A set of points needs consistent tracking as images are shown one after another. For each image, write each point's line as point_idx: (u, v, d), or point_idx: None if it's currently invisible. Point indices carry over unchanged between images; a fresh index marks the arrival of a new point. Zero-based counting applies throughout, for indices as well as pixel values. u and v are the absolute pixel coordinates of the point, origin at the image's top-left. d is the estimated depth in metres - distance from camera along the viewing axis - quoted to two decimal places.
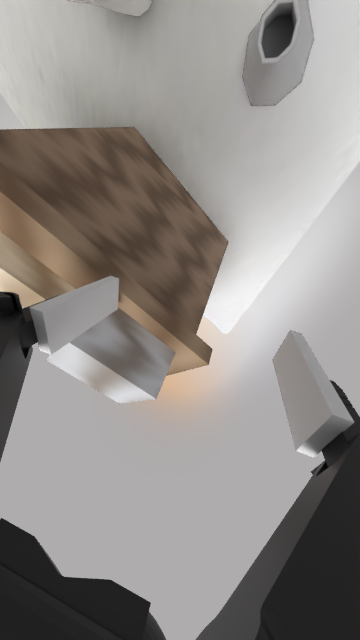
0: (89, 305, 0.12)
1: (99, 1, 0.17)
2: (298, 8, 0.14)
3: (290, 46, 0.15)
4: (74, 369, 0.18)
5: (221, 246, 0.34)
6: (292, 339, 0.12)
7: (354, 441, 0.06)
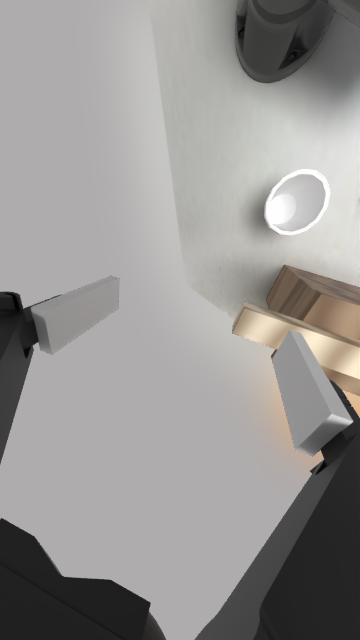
0: (90, 305, 0.12)
1: None
2: None
3: None
4: None
5: None
6: (291, 339, 0.12)
7: (353, 440, 0.06)
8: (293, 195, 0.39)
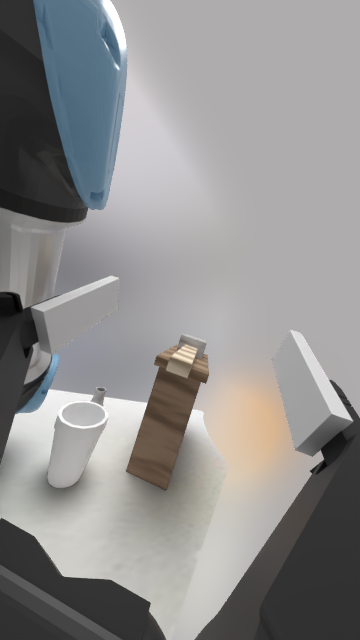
0: (90, 305, 0.12)
1: None
2: (97, 387, 0.56)
3: (103, 387, 0.57)
4: (198, 339, 0.58)
5: None
6: (291, 339, 0.12)
7: (353, 440, 0.06)
8: None
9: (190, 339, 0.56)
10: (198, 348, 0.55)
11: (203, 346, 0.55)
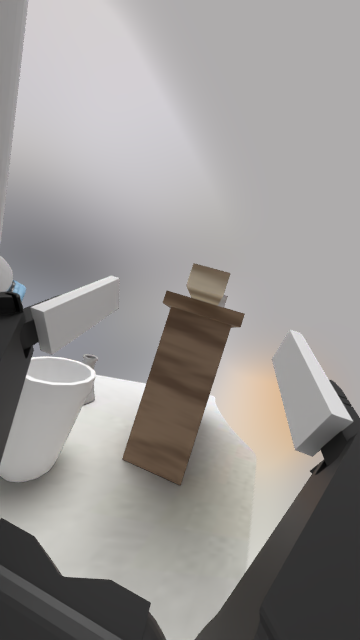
0: (90, 305, 0.12)
1: None
2: (86, 354, 0.43)
3: (93, 355, 0.44)
4: None
5: None
6: (291, 339, 0.12)
7: (353, 440, 0.06)
8: None
9: None
10: None
11: (224, 300, 0.43)
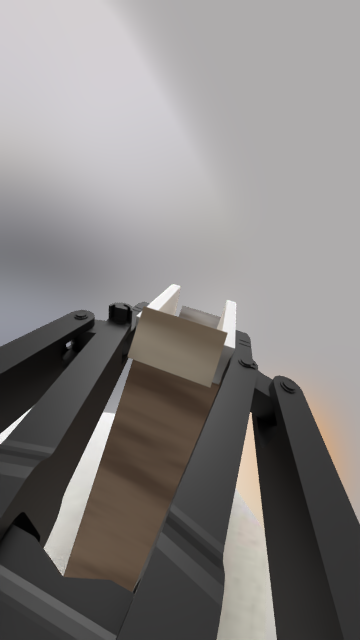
0: (165, 312, 0.13)
1: None
2: None
3: None
4: None
5: None
6: (225, 306, 0.14)
7: (230, 364, 0.08)
8: None
9: (198, 313, 0.32)
10: (211, 328, 0.32)
11: None
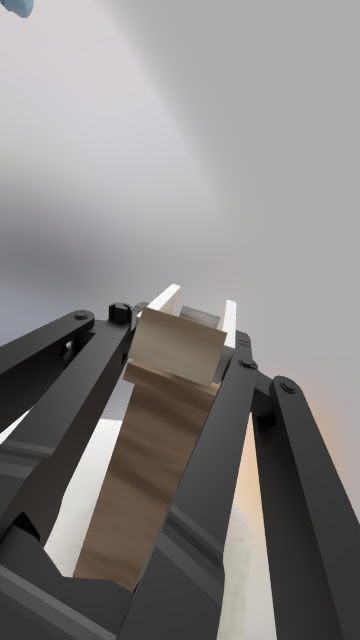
0: (165, 312, 0.13)
1: None
2: None
3: None
4: None
5: None
6: (225, 306, 0.14)
7: (230, 364, 0.08)
8: None
9: (198, 313, 0.32)
10: (211, 328, 0.32)
11: None
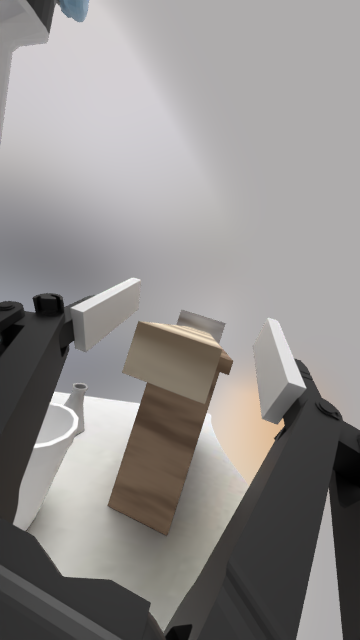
0: (117, 306, 0.12)
1: None
2: (76, 383, 0.42)
3: (83, 383, 0.43)
4: None
5: None
6: (268, 325, 0.13)
7: (304, 405, 0.07)
8: None
9: (197, 317, 0.32)
10: (210, 332, 0.32)
11: (220, 328, 0.31)
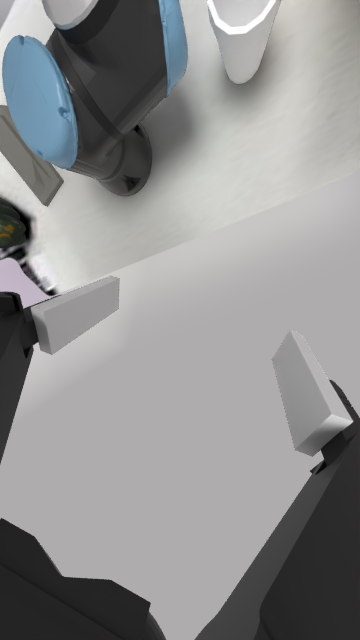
0: (90, 305, 0.12)
1: None
2: None
3: None
4: None
5: None
6: (292, 339, 0.12)
7: (353, 440, 0.06)
8: None
9: None
10: None
11: None
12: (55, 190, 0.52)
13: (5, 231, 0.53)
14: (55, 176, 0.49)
